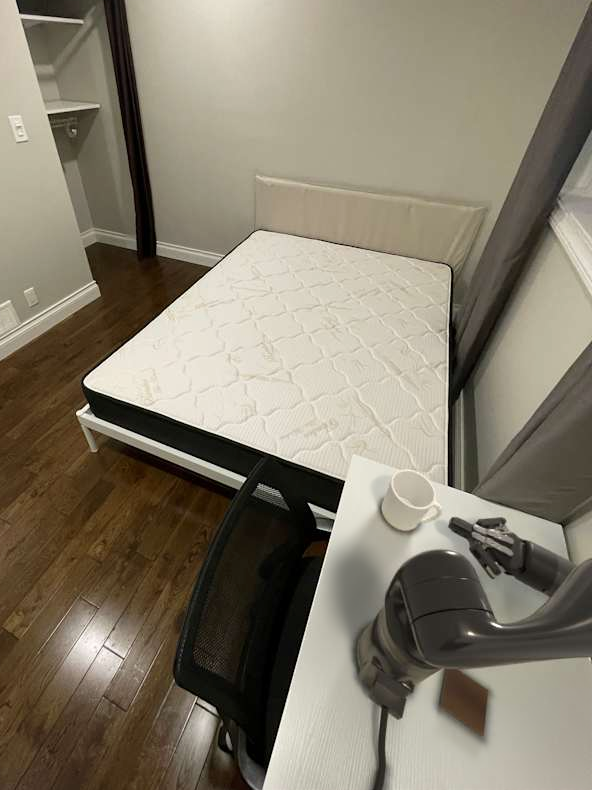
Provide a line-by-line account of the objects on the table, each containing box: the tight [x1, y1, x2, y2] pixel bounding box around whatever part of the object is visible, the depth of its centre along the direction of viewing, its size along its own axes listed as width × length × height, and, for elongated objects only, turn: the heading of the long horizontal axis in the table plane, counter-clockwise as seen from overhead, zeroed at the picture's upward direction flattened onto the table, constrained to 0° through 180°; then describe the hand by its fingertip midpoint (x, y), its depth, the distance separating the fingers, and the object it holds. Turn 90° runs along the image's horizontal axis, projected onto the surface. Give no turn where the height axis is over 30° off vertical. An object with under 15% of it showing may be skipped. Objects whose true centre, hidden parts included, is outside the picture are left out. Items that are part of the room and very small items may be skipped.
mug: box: [381, 468, 443, 532], centre depth 78 cm, size 11×9×10 cm
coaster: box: [439, 669, 489, 737], centre depth 58 cm, size 6×6×1 cm
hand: (450, 522), depth 74 cm, fingers closed
